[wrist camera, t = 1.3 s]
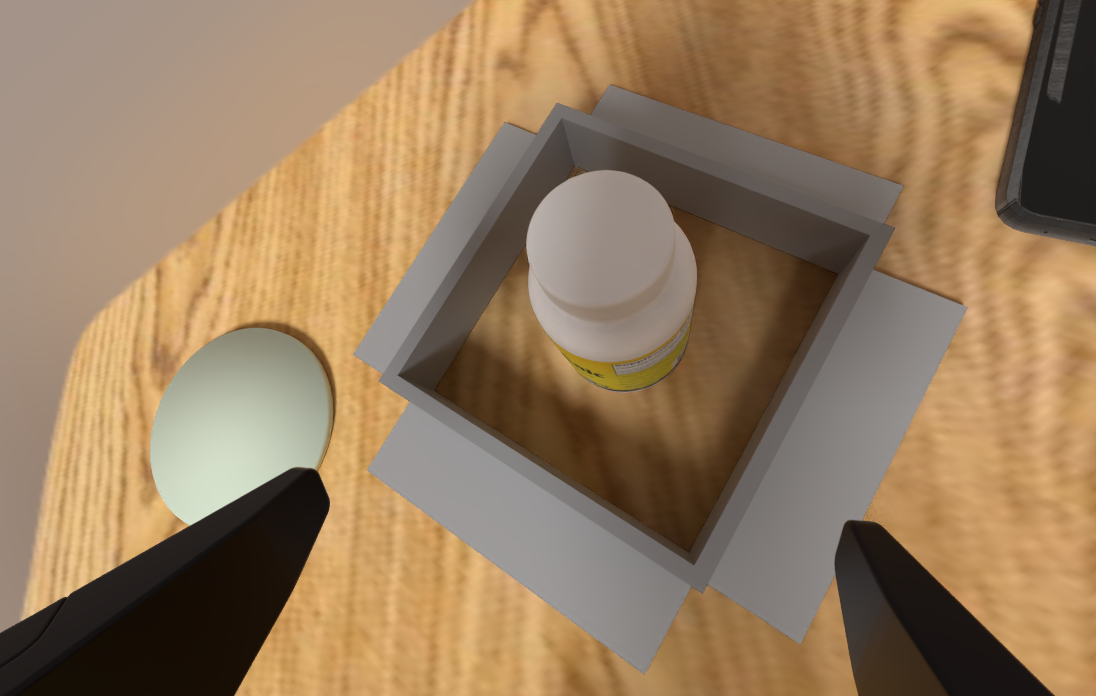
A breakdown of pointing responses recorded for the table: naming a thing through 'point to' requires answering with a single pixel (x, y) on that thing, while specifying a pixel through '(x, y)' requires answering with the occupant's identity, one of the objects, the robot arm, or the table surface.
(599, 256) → the supplement bottle
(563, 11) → the table surface
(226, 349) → the felt pad
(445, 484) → the carton
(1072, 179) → the phone
